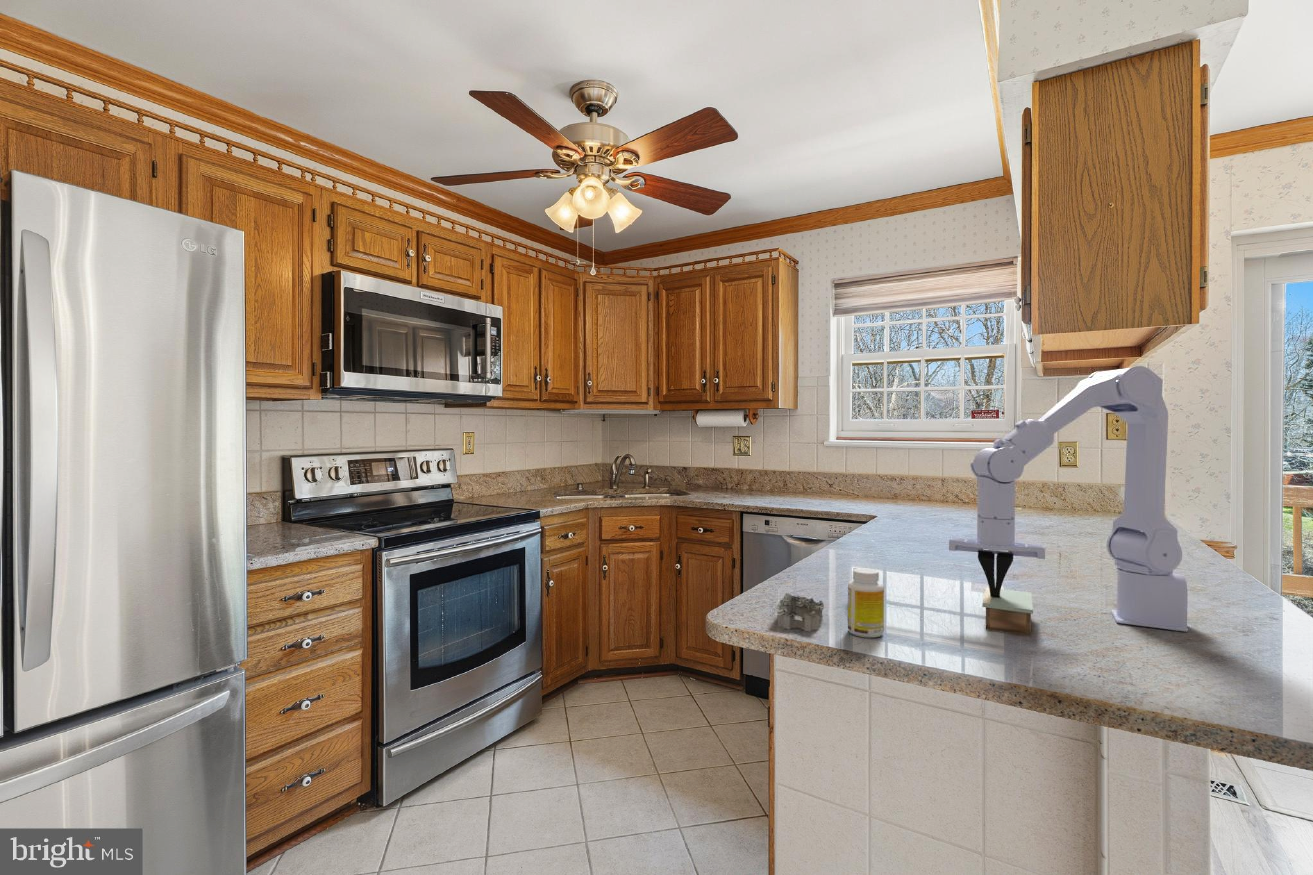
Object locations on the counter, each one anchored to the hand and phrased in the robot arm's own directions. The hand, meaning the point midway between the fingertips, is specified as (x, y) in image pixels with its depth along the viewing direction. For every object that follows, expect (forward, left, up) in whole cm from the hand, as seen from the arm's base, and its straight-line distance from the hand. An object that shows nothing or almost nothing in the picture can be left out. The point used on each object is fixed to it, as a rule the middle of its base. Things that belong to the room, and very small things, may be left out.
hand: (995, 595), depth 107 cm
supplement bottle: (+18, +18, -5) cm, 26 cm away
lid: (-2, 0, -1) cm, 2 cm away
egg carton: (+29, +17, -5) cm, 34 cm away
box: (-2, 0, -4) cm, 5 cm away
